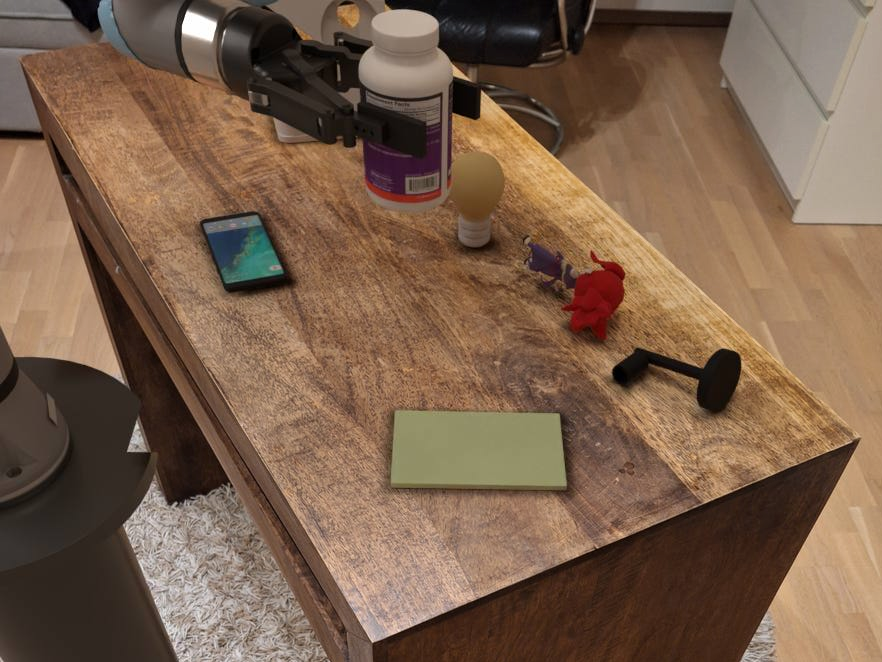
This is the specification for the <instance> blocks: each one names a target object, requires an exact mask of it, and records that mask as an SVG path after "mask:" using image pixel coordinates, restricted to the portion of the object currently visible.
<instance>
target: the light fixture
mask: <svg viewBox="0 0 882 662" xmlns="http://www.w3.org/2000/svg"><path fill="white" fill-rule="evenodd" d="M742 364H743V363H742V358H741V355H740V354H739V352H737V351H736V350H732V349H729V348H724V347H722V348H719V349H718V350H715V352H713V353H712V354H711V356H710V357H709V358H708V360H706V363H704V366H703V367H699V366H696V365H694V364H692V363H691V364H690V363H688V362H684V361H681V360H679V359H675V358H673V357H669V356H666V355H664V354H663V355H662V354H660V353H657V352H653V351H650V350H648V349H645V348H642V347H638V346H637V347H636V348H635V349H634V350H633V352H632V353H631V354H629V355H628V356H627V357H625V358H624V359H622V360H621V361H620V362H618V363H617V364H616V365H614V366H613V367H612V369H611V376H612V378H611V379H613V382H612V384H614V383H616V384H618V385H619V386H621V387H626V386H628V385H629V384H630V383H631V382H633V381H634V380H635V379H636V378H638V377H639V376H641V375H642V374H643V373H645V372H646V371H648V369H649V365H653V366H655V367H658V368H661V369H665V370H666V371H667V370H668V371H670V372H673V373H677V374H679V375H681V376H685V377H689V378H691V379H694V380H697V381H698V382H697V387H696V401H697V404H698V406H699V407H700V408H702V409H703V410H705V411H708V412H712V413H716V412H719V411H721V410H722V409H723V408H724V407H725V406H726V405H727V404H728V403H729V402H730V400H731V398H733V395H734V394H735V391H736V389H737V387H738V384H739V381H740V379H741V373H742ZM611 379H610V380H611ZM601 386H602V385H601ZM601 386H599V388H600V387H601ZM597 390H598V388H597V389H595V391H597ZM593 392H594V391H593ZM593 392H592V393H593ZM592 393H591V394H592ZM588 399H589V400H592V399H593V398H591V397H588Z"/></svg>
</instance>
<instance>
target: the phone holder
mask: <svg viewBox="0 0 882 662" xmlns="http://www.w3.org/2000/svg"><path fill="white" fill-rule="evenodd" d="M348 1H349V2H351V3H353V4H354V5H355V6H356V8H357V9H358V13H359V18H358V21H357V22H356V24H355V25H354V26H352V27H346V26H345V25H343V24H342V23H341V22H340V19H339V17H338V9H339V6H340V5H341V4H342V3H344V2H348ZM265 7H267V8H268V9H270V11H272V12H274V13H278V14H281V15H283V16H285V17H286V18H287V19H288V20H289V21H290V22H291V23H292V24H293V26H294V27H295V28H297V29H298V30H299V31H301V32H302V33H304V34H305V35H307V36H308V37H310V39H311V40H316V41H319V42H321V43H323V44H325V45H329V44H332V43H334V37H333V33H335V32H338V31H341V32H345V33H347V34H349V35H352V36H354V37H356V38H360V39H365V40H370V41H372V27H371V23H372V20H373V18H374V17H375V16H376V15H378V14H380V13H383V12H386V1H385V0H278V1H277V2H275V3H273V4H270V5H265ZM337 69H338V80H337V81H341V78H340V65H338V64H337ZM338 93H339V94H340V95H342V96H343V97H344V98H346V99H347V100H348V101H349V102H351V103H352V104H353V105H354V111H357V103H359V102H360V89H358V88H350V89H349V91H348V92H347V93H341V92H338ZM272 118H273V124H274V127H275V130H276V135H277V139H278V140H279V141H280V142H281V143H283V144H284V143H285V144H294V143H307V142H320V141H319V140H317V139H315V138H313V137H311V136H309V135H307V134H305V133H303V132H301V131H299V130H297V129H295V128H293V127H291V126H289V125H287V124H285V123H283V122H281V121H279V120H277V119H276V118H274V117H272ZM319 124H320V126H321V119H320V118H319ZM321 127H322V126H321ZM357 138H358V137H357V136H356V139H357ZM337 140H343V137H342V136H338V137H337Z"/></svg>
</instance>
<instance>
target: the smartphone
mask: <svg viewBox="0 0 882 662" xmlns="http://www.w3.org/2000/svg"><path fill="white" fill-rule="evenodd" d="M199 226H200V228H201V231H202V234H203V237H204V239H205V242H206V245H207V247H208V250H209V252H210V255H211V259H212V261H213V264H214V266H215V268H216V273H217V275H218V277H219V279H220V282H221V284H222V287H223V289H224V291H225V292H226V293H229V294H233V293H238V292H239V293H240V292H244V291H245V292H246V291H250V290H256V289H260V288H266V287H272V286H277V285H282V284H285V283H287V282H288V280H289V275H288V273H287V270H286V269H285V266H284V264H283V261H282V260H281V257H280V255H279V253H278V251H277V249H276V247H275V244H274V241H273V240H272V238H271V235H270V233H269V230H268V229H267V227H266V224H265V222H264V220H263V217H262V215H261V213H259V212H258V211H255V210H254V211H253V210H252V211H245V212H239V213H232V214H226V215H221V216H214V217H208V218H202V219H201V220H200V221H199Z"/></svg>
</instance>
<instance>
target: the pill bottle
mask: <svg viewBox="0 0 882 662" xmlns="http://www.w3.org/2000/svg"><path fill="white" fill-rule="evenodd" d="M385 11H386V10H385ZM371 27H372V43H373V45H374V46H372V47H371V48H369V49H368V50H367V51H366V52H365V53H364V54H363V56H362V58H361V60H360V63H359V88H360V102H361V101H365V102H368V103H371V104H374V105H377V106H380V107H383V108H386V109H389V110H392V111H395V112H398V113H401V114H404V115H406V116H409V117H412V118H415V119H418V120H421V121H424V122H427V156H426V157H424V158H423V159H420V158H417V157H414V156H411V155H408V154H405V153H402V152H400V151H397V150H394V149H391V148H388V147H385V146H383V145H380V144H377V143H374V142H371V141H368V140H365V139H362V138H361V139H362V155H363V172H364V185H365V190H366V193H367V194H368V196H369V198H370V199H371V201H373V203H375V204H376V205H377V206H380V208H383V209H386V210H389V211H392V212H397V213H401V214H402V213H403V214H419V213H420V214H421V213H425V212H428V211H429V212H430V211H432V210H434V209H435V208H437V207H439V206H441V205H442V204H443V203H444V202H445V201H446V200H447V199H448V197H449V196H450V195H449V193H450V190H451V166H452V164H453V163H452V160H453V159H452V155H453V153H452V152H453V151H452V149H453V113H452V104H453V76H454V69H453V68H454V67H453V64H452V62H451V60H450V58H449V56H448V55H447V54H446V53H445V52H444V51H443V50H442V49H440V48H439V47H438V46H439V42H440V24H439V21H438V20H437V19H436V18H435V17H434V16H432V15H431V14H429V13H427V12H424V11H419V10H413V9H391V10H387V11H386V12H383V13H380V14H378V15H376V16H375V17H374V18H373V20H372V23H371Z"/></svg>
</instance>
